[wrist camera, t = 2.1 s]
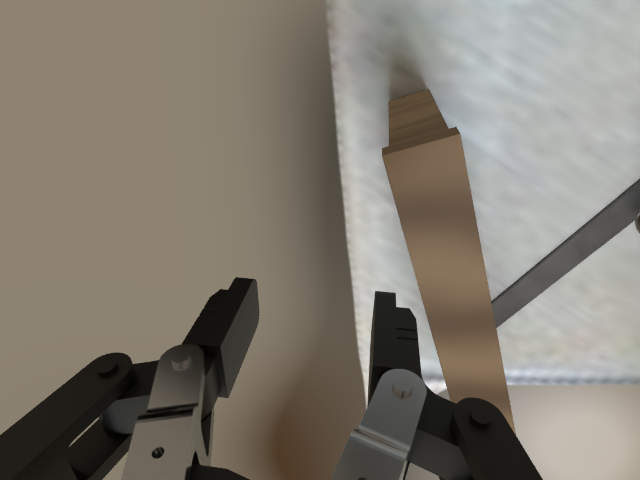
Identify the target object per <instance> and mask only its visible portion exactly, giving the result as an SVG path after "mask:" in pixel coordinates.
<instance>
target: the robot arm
mask: <svg viewBox="0 0 640 480" xmlns="http://www.w3.org/2000/svg"><path fill="white" fill-rule="evenodd" d="M258 321H259V302H258V290H257V281H256V280H255V279H248V278H238V277H236V278H235V279H234V281H233V282H232V284H231V286H230V288H229V289H228V290H223V289H221V290H219V291H218V292H216V293H215V294H214V295H212V296H211V297H210V298H209V300H208V302H207V303H206V305H205V307H204V309H203V310H202V311H201V313H200V316H199V317H198V318H197V320H196V321H195V323H194V325H193V326H192V328H191V330H190V332H189V333H188V335H187V336H186V338H185V340H184V341H183V343H182V344H181V345H177V346H174V347H172V348H170V349H169V350H167V351H166V352H165V353H164V354H163V355H162V356H161V358H160V359H159V360H157V361H152V362H145V363H138V364H132V361H131V359H130V357H129V356H128V355H126V354H123V353H110V354H106V355H103V356H101V357H98V358H97V359H95V360H94V361H92V362H91V363H90V364H88V365H87V366H86V367H85V368H83V369H82V370H81V371H80V372H78V373H77V374H76V375H75V376H74V377H72V378H71V379H70V380H68V381H67V382H66V383H65V384H63V385H62V386H61V387H60V388H58V389H57V390H56V391H55V392H53V393H52V394H51V395H50V396H48V397H47V398H46V399H45V400H44V401H42V402H41V403H40V404H39V405H37V406H36V407H35V408H34V409H32V410H31V411H30V412H29V413H27V414H26V415H25V416H24V417H22V418H21V419H20V420H19V421H17V422H16V423H15V424H14V425H12V426H11V427H10V428H9V429H7V430H6V431H5V432H4V433H2V434H1V435H0V480H102V479H103V478H104V477H105V476H106V475H107V474H108V473H109V472H110V470H111V469H112V468H113V467H114V466H115V465H116V464H117V463H118V462H119V461H120V459H121V458H122V457H123V456H124V455H125V454H126V453H127V452H128V455H127V459H126V463H125V467H124V471H123V474H122V479H121V480H249V479H247V478H245V477H243V476H241V475H239V474H237V473H234V472H232V471H230V470H228V469H223V468H217V467H211V453H212V439H213V424H214V404H215V402H216V400H217V398H218V397H225V398H228V397H229V395H230V392H231V390H232V388H233V385H234V383H235V380H236V377H237V375H238V373H239V370H240V368H241V365H242V363H243V360H244V358H245V355H246V353H247V351H248V348H249V346H250V343H251V341H252V338H253V335H254V333H255V331H256V328H257V325H258ZM98 417H99V420H97V421H96V422H95V423H94V424H93V425H92V426H91V427H90V428H89V429H88V430H87V431H86V432H85V433H84V434H83V435H82V436H81V437H80V438H78V439H77V440H76V442H74V443H73V444H72V445H71V446H70V447H69V445H70V444H71V443H72V441H73V440H74V439H75V438H76V437H77V436H78V435H80V434H81V433H82V432H83V431H84V430H85V429H86V428H87V427H88V426H89V425H90V424H91V423H92V422H93V421H94V420H95V419H97V418H98ZM68 447H69V448H68ZM411 463H413V464H415V465H417V466H419V467H421V468H423V469H425V470H428V471H430V472H432V473H434V474H436V475H438V476H439V479H440V480H543V479H542V478H541V476H540V474H539V473H538V471H537V470H536V468H535V466H534V465H533V463H532V461H531V460H530V458H529V456H528V455H527V453H526V451H525V450H524V448H523V447H522V445H521V443H520V441H519V440H518V438H517V437H516V435H515V433H514V432H513V430H512V428H511V427H510V425H509V423H508V422H507V420H506V418H505V417H504V415H503V414H502V412H501V411H500V410H499V409H498V408H497V407H496V406H494V405H493V404H491V403H490V402H488V401H486V400H483V399H480V398H474V397H469V398H464V399H462V400H460V401H459V402H458V403H454V402H452V401H449V400H447V399H444V398H442V397H440V396H438V395H436V394H435V393H433V392H432V391H431V390H430V389H429V388H428V387H427V386H426V384H425V383H424V381H423V379H422V375H421V366H420V355H419V345H418V334H417V323H416V318H415V316H414V315H413V313H412V312H411V310H410V309H409V308H399V307H396V294H395V293H390V292H380V291H375V299H374V309H373V319H372V330H371V345H370V366H369V386H368V406H367V410H366V412H365V415H364V417H363V419H362V422H361V424H360V426H359V428H358V429H354V430H353V431H352V433H351V435H350V437H349V439H348V442H347V444H346V446H345V448H344V451H343V453H342V455H341V457H340V459H339V461H338V464H337V466H336V468H335V470H334V472H333V475H332V477H331V479H330V480H406V478H407V475H408V471H409V468H410V464H411Z"/></svg>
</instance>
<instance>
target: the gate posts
mask: <svg viewBox="0 0 640 480" xmlns="http://www.w3.org/2000/svg"><path fill="white" fill-rule="evenodd" d="M635 220H636V228H637V230H638V232H639V233H640V180H639V181H638V182H637V183H635V184H634V185H633V186H632V187H630V188H629V189H628V190H627V191H626V192H624V193H623V194H622V195H621V196H620V197H618V198H617V199H616V200H615V201H614V202H612V203H611V204H610V205H609V206H607V207H606V208H605V209H604V210H603V211H601V212H600V213H599V214H598V215H597V216H595V217H594V218H593V219H592V220H591V221H589V222H588V223H587V224H586V225H584V226H583V227H582V228H581V229H580V230H578V231H577V232H576V233H575V234H574V235H572V236H571V237H570V238H569V239H568V240H566V241H565V242H564V243H563V244H561V245H560V246H559V247H558V248H557V249H555V250H554V251H553V252H552V253H551V254H549V255H548V256H547V257H546V258H545V259H543V260H542V261H541V262H540V263H538V264H537V265H536V266H535V267H534V268H532V269H531V270H530V271H529V272H528V273H526V274H525V275H524V276H523V277H522V278H520V279H519V280H518V281H517V282H516V283H514V284H513V285H512V286H511V287H509V288H508V289H507V290H506V291H505V292H503V293H502V294H501V295H500V296H499V297H497V298H496V299H495V300H494V301H493V302H491V304H492V309H493V314H494V320H495V325H496V328H497V327H498V326H500V325H501V324H502V323H503V322H505V321H506V320H507V319H509V318H510V317H511V316H512V315H514V314H515V313H516V312H518V311H519V310H520V309H521V308H523V307H524V306H525V305H527V304H528V303H529V302H530V301H532V300H533V299H534V298H536V297H537V296H538V295H539V294H541V293H542V292H543V291H545V290H546V289H547V288H548V287H550V286H551V285H552V284H554V283H555V282H556V281H557V280H559V279H560V278H561V277H563V276H564V275H565V274H566V273H568V272H569V271H570V270H572V269H573V268H574V267H575V266H577V265H578V264H579V263H581V262H582V261H583V260H584V259H586V258H587V257H588V256H590V255H591V254H592V253H593V252H595V251H596V250H597V249H599V248H600V247H601V246H602V245H604V244H605V243H606V242H608V241H609V240H610V239H611V238H613V237H614V236H615V235H617V234H618V233H619V232H620V231H622V230H623V229H624V228H626V227H627V226H628V225H629V224H631V223H632V222H633V221H635Z"/></svg>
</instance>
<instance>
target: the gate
mask: <svg viewBox="0 0 640 480" xmlns="http://www.w3.org/2000/svg"><path fill="white" fill-rule="evenodd" d="M382 157H383V161H384V164H385V168H386V172H387V175H388V179H389V182H390V186H391V189H392V193H393V197H394V200H395V204H396V207H397V211H398V214H399V218H400V222H401V225H402V229H403V232H404V236H405V239H406V243H407V247H408V250H409V254H410V257H411V261H412V264H413V268H414V272H415V275H416V279H417V282H418V286H419V290H420V293H421V297H422V300H423V304H424V307H425V311H426V315H427V318H428V322H429V325H430V329H431V332H432V336H433V340H434V343H435V347H436V350H437V354H438V357H439V361H440V365H441V368H442V372H443V375H444V379H445V383H446V386H447V390H448V393H449V397H450V400H451V401H452V402H454V403H458V402H459V401H460V400H462V399H464V398H469V397H474V398H480V399H483V400H486V401H488V402H490V403H491V404H493V405H494V406H496V407H497V408H498V409H499V410H500V411H501V412H502V414H503V415H504V417H505V418H506V420H507V422H508V423H509V425H510V427H511V428H512V430H513V432H514V433H515V428H514V422H513V417H512V412H511V406H510V401H509V396H508V390H507V385H506V379H505V374H504V368H503V363H502V358H501V352H500V347H499V341H498V336H497V331H496V325H495V320H494V314H493V309H492V304H491V298H490V293H489V287H488V282H487V277H486V271H485V266H484V260H483V255H482V250H481V244H480V239H479V233H478V228H477V223H476V217H475V212H474V206H473V201H472V196H471V190H470V185H469V179H468V174H467V169H466V163H465V158H464V152H463V147H462V142H461V136H460V133H459V131H458V129H457V127H454V128H451V129H448V127H447V125H446V123H445V121H444V119H443V117H442V115H441V113H440V111H439V109H438V107H437V105H436V103H435V101H434V99H433V97H432V95H431V92H430V90H429V89H426V90H423V91H420V92H417V93H414V94H411V95H408V96H405V97H401V98H398V99H395V100H392V101H389V146H388V147H385V148H382ZM515 435H516V433H515Z"/></svg>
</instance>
